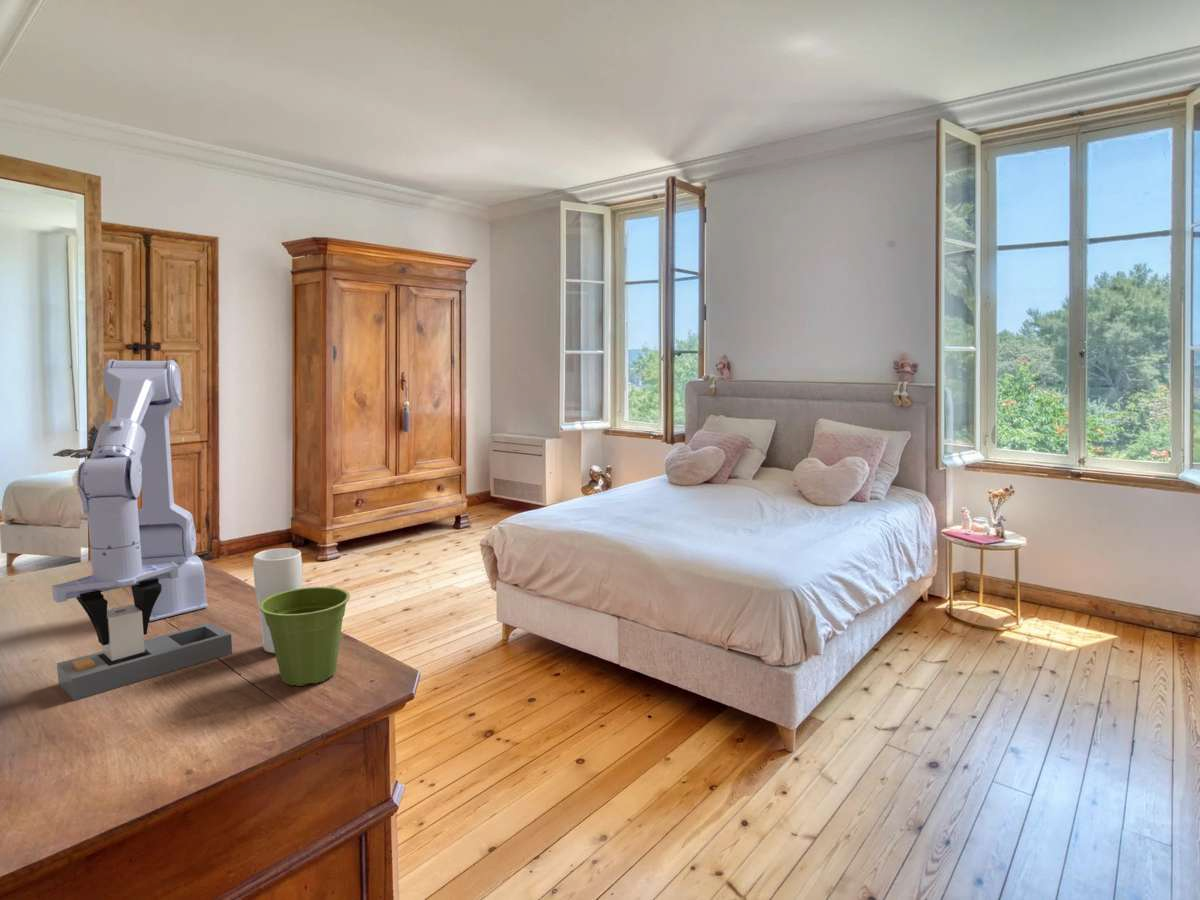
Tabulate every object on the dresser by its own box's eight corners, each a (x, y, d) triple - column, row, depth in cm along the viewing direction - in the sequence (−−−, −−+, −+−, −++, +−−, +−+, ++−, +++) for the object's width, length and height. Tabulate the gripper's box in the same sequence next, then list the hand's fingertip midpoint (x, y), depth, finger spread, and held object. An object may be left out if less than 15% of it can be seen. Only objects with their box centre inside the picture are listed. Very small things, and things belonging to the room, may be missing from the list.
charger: (135, 644, 103) (131, 603, 102) (144, 651, 101) (141, 609, 100) (102, 652, 100) (99, 610, 99) (111, 660, 98) (108, 617, 97)
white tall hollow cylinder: (258, 660, 106) (253, 562, 104) (257, 643, 112) (252, 550, 110) (307, 651, 109) (303, 556, 107) (303, 636, 115) (299, 545, 113)
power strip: (212, 640, 113) (211, 619, 112) (232, 653, 108) (230, 631, 108) (58, 684, 98) (56, 659, 97) (73, 700, 93) (71, 675, 93)
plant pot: (363, 657, 108) (360, 585, 106) (336, 695, 96) (333, 615, 94) (283, 657, 107) (280, 585, 106) (247, 695, 96) (242, 614, 94)
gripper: (59, 560, 90) (68, 662, 92) (184, 538, 101) (190, 630, 103) (44, 550, 95) (53, 647, 97) (165, 530, 106) (171, 618, 107)
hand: (123, 638), depth 100 cm, fingers closed on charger, 4 cm apart
